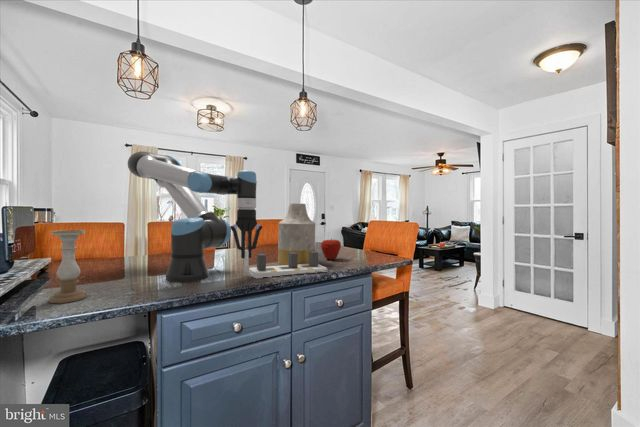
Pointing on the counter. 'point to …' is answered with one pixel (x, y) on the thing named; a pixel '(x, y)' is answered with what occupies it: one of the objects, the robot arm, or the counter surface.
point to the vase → (296, 235)
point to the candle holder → (68, 269)
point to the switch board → (284, 270)
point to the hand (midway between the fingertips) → (246, 266)
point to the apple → (330, 248)
